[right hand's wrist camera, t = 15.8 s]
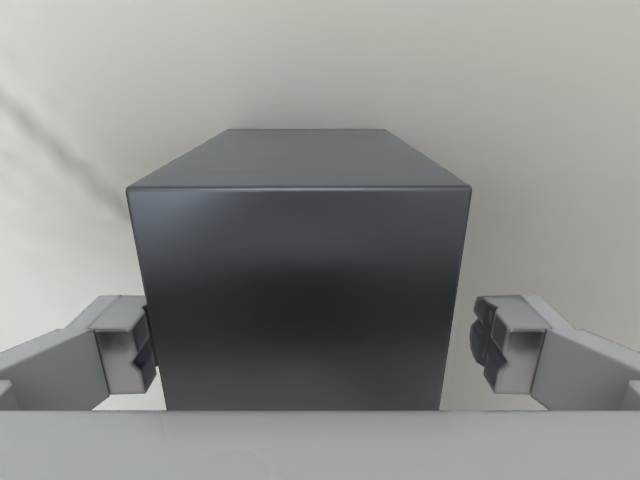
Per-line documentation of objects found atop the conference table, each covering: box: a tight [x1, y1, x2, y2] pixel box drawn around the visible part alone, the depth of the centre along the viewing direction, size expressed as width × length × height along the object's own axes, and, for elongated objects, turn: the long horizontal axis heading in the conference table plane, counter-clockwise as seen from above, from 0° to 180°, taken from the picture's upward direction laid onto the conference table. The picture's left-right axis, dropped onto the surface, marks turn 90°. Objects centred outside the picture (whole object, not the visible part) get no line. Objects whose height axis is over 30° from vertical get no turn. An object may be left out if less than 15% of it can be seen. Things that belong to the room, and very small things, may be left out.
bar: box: [126, 129, 472, 411], centre depth 15 cm, size 26×6×9 cm, turn 0°
